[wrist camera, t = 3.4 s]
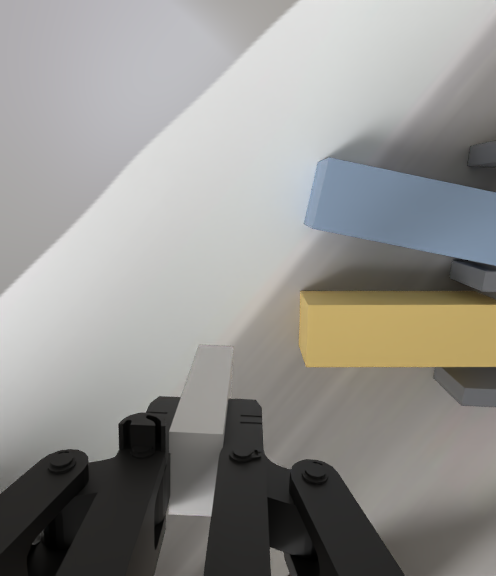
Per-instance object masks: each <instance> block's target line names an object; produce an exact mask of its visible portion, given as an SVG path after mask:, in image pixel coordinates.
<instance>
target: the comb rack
mask: <svg viewBox="0 0 496 576" xmlns="http://www.w3.org/2000/svg"><path fill="white" fill-rule="evenodd" d="M467 166H485V167H496V141H491V142H487V143H482V144H478V145H473V146H470V152H469V158H468V165H467ZM449 278H451V279H453V280H455V281H458V282H460V283H463V284H465V285H468V286H470V287H472V288H475V289H477V290H480V291H483V292H496V266H495V265H490V264H485V263H480V262H470V261H452V264H451V271H450V277H449ZM433 378H434V379H435V380H436V381H437V382H438V383H439V384H440V385H441V386H442V387H443V388H444V389H445V390H446V391H447V392H448V393H449V394H450V395H451V396H452V397H453V398H454V399H455V400H456V401H457V402H458V403H459V404H460V405H461V406H481V407H496V367H435V371H434V377H433Z"/></svg>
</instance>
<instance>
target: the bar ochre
mask: <svg viewBox="0 0 496 576" xmlns="http://www.w3.org/2000/svg"><path fill="white" fill-rule="evenodd" d="M299 348H300V350H301V353H302V356H303V359H304V362H305V365H306V367H496V300H495V299H492V298H490V297H488V296H485V295H483V294H481V293H478V292H476V291H300V322H299Z"/></svg>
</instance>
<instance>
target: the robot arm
mask: <svg viewBox="0 0 496 576" xmlns="http://www.w3.org/2000/svg"><path fill="white" fill-rule="evenodd" d="M232 368H233V346H215V345H199V346H198V349H197V352H196V355H195V358H194V361H193V363H192V366H191V369H190V372H189V375H188V378H187V381H186V384H185V387H184V390H183V393H182V395H181V397H162V396H159V397H158V398H157V399H155V400H154V401H153V402H151V403H150V405H149V407H148V409H147V411H146V413H137V414H134V415H130V416H128V417H126V418H124V419H123V420H122V421H121V422H120V423H119V451H118V453H117V455H116V457H113V458H111V459H107V460H103V461H96V462H90V463H88V456H87V455H86V454H85V453H84V452H82V451H79V450H72V449H68V450H61V451H57V452H55V453H52V454H49V455H48V456H46V457H45V458H43V459H41V460H40V461H39V462H38V463H37V464H35V465H34V466H33V467H32V468H31V469H30V470H28V471H27V472H26V473H25V474H24V475H22V476H21V477H20V478H19V479H18V480H17V481H15V482H14V483H13V484H12V485H11V486H9V487H8V488H7V489H6V490H5V491H4V492H2V493H1V494H0V576H154V573H155V569H156V565H157V561H158V557H159V553H160V549H161V545H162V541H163V537H164V533H165V529H166V510H167V507H168V503H169V514H171V515H192V516H211V522H210V530H209V537H208V545H207V553H206V561H205V568H204V576H271V569H270V547H272V548H275V549H278V550H280V551H283V552H284V557H285V561H286V564H287V567H288V570H289V572H290V575H291V576H405V575H404V573H403V572H402V570H401V569H400V567H399V566H398V564H397V563H396V561H395V560H394V558H393V557H392V555H391V554H390V552H389V550H388V549H387V547H386V546H385V544H384V543H383V541H382V540H381V538H380V537H379V535H378V534H377V532H376V530H375V529H374V527H373V526H372V524H371V523H370V521H369V520H368V518H367V517H366V515H365V514H364V512H363V511H362V509H361V507H360V506H359V504H358V503H357V501H356V500H355V498H354V497H353V495H352V494H351V492H350V491H349V489H348V488H347V486H346V484H345V483H344V481H343V480H342V478H341V477H340V475H339V474H338V472H337V471H336V470H335V469H334V468H333V467H332V466H330V465H328V464H327V463H325V462H322V461H318V460H307V459H306V460H302V461H299V462H297V463H296V464H294V465H293V466H292V469H291V470H290V469H286V468H283V467H280V466H278V465H276V464H274V463H272V462H271V461H270V460H269V459H268V458H267V457H266V456H265V454H264V450H263V430H262V408H261V406H260V405H259V404H258V402H257V401H256V400H246V399H231V393H232Z"/></svg>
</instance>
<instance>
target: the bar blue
mask: <svg viewBox="0 0 496 576" xmlns="http://www.w3.org/2000/svg"><path fill="white" fill-rule="evenodd" d="M304 224H305V225H307V226H309V227H310V228H312V229H317V230H322V231H327V232H332V233H337V234H342V235H347V236H352V237H357V238H361V239H366V240H371V241H376V242H381V243H386V244H391V245H396V246H401V247H406V248H411V249H416V250H421V251H426V252H431V253H436V254H441V255H446V256H450V257H455V258H460V259H465V260H470V261H475V262H480V263H485V264H490V265H495V266H496V192H491V191H486V190H481V189H477V188H472V187H467V186H462V185H458V184H453V183H448V182H443V181H439V180H434V179H429V178H424V177H420V176H415V175H410V174H405V173H401V172H396V171H391V170H386V169H382V168H377V167H372V166H367V165H363V164H358V163H353V162H348V161H344V160H339V159H334V158H327V159H324V160H322V161H320V162H318V164H317V168H316V173H315V177H314V182H313V186H312V190H311V195H310V199H309V204H308V208H307V212H306V217H305V221H304Z"/></svg>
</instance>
